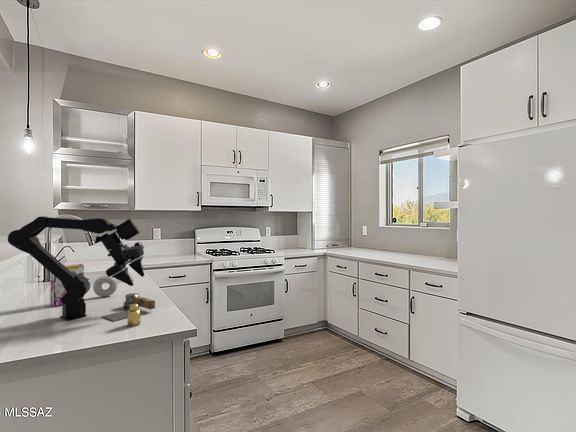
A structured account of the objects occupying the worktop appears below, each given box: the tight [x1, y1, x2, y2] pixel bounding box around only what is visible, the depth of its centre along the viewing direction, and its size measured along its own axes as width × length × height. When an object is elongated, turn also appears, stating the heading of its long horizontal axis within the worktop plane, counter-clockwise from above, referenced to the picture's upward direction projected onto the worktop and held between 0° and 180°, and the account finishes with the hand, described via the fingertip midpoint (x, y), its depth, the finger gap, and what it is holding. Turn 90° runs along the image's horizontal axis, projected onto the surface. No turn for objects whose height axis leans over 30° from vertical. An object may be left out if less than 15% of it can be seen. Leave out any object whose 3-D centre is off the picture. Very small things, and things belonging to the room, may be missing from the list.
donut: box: [92, 274, 118, 298], centre depth 151 cm, size 10×4×10 cm, turn 125°
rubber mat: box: [101, 310, 127, 322], centre depth 123 cm, size 8×8×1 cm
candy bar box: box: [49, 263, 85, 307], centre depth 140 cm, size 11×5×16 cm, turn 144°
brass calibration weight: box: [126, 304, 141, 328], centre depth 114 cm, size 4×4×7 cm
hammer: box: [123, 292, 156, 310], centre depth 133 cm, size 17×6×4 cm, turn 56°
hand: (138, 280), depth 129 cm, fingers open, 9 cm apart
